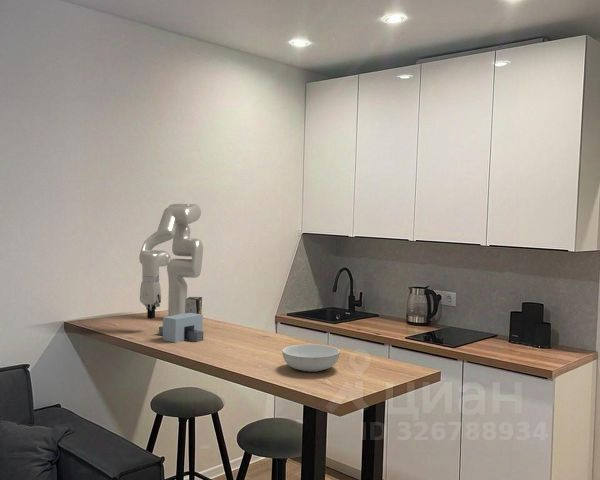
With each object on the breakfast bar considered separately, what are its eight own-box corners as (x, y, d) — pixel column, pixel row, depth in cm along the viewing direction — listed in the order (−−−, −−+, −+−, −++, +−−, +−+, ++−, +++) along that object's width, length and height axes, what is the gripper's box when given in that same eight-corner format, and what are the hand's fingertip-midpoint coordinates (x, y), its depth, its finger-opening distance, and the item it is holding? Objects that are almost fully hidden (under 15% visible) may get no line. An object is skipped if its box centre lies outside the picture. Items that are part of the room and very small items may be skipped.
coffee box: (198, 334, 269) (198, 299, 268) (184, 334, 269) (184, 299, 268) (202, 330, 278) (202, 296, 277) (188, 330, 278) (189, 296, 277)
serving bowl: (294, 359, 227) (294, 341, 227) (346, 365, 220) (346, 347, 219) (272, 372, 208) (272, 352, 208) (328, 379, 200) (329, 359, 200)
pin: (154, 335, 265) (154, 325, 264) (167, 332, 271) (168, 322, 271) (193, 342, 251) (193, 332, 251) (206, 339, 258) (206, 329, 258)
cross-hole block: (162, 339, 255) (163, 317, 255) (189, 334, 268) (190, 312, 268) (175, 342, 251) (175, 319, 250) (202, 336, 264) (202, 314, 263)
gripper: (133, 278, 273) (134, 317, 275) (155, 282, 264) (155, 322, 266) (146, 276, 279) (146, 314, 281) (168, 279, 270) (168, 319, 272)
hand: (151, 318), depth 273 cm, fingers closed
